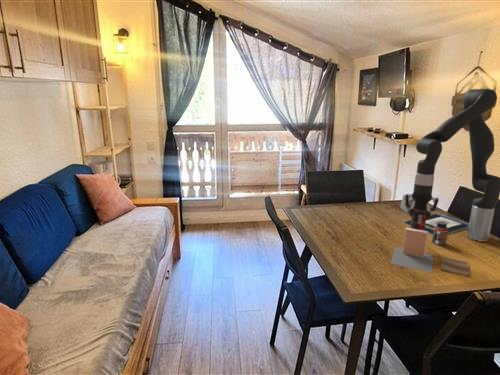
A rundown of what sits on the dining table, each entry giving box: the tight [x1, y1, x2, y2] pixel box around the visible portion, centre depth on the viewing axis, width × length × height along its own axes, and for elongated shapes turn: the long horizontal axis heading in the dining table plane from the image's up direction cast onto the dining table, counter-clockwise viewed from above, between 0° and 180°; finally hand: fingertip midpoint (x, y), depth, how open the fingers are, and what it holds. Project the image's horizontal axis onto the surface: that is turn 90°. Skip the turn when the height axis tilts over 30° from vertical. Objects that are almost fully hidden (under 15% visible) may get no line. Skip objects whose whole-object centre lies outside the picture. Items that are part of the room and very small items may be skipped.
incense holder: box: [400, 193, 414, 214], centre depth 206 cm, size 10×8×10 cm
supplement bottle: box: [431, 221, 449, 247], centre depth 161 cm, size 6×6×11 cm
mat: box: [390, 247, 434, 274], centre depth 147 cm, size 18×16×1 cm
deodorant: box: [410, 197, 429, 230], centre depth 154 cm, size 6×6×15 cm
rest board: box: [440, 256, 470, 278], centre depth 140 cm, size 12×10×1 cm
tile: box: [402, 227, 429, 257], centre depth 149 cm, size 2×9×12 cm, turn 60°
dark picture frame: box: [402, 212, 469, 236], centre depth 185 cm, size 22×30×2 cm
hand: (418, 217), depth 154 cm, fingers closed on deodorant, 6 cm apart
